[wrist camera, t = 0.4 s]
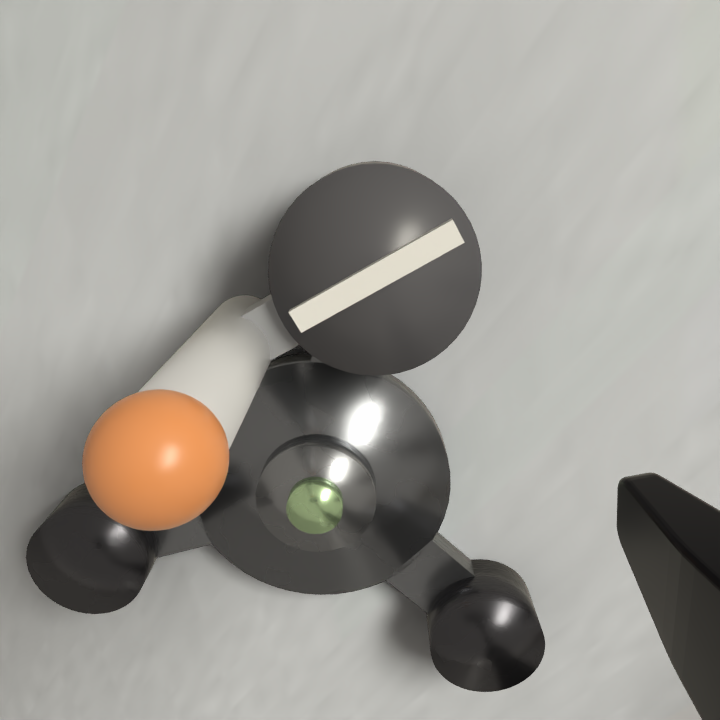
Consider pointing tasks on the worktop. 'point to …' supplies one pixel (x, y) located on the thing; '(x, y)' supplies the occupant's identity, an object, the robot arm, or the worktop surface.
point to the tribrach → (320, 522)
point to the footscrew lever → (292, 334)
